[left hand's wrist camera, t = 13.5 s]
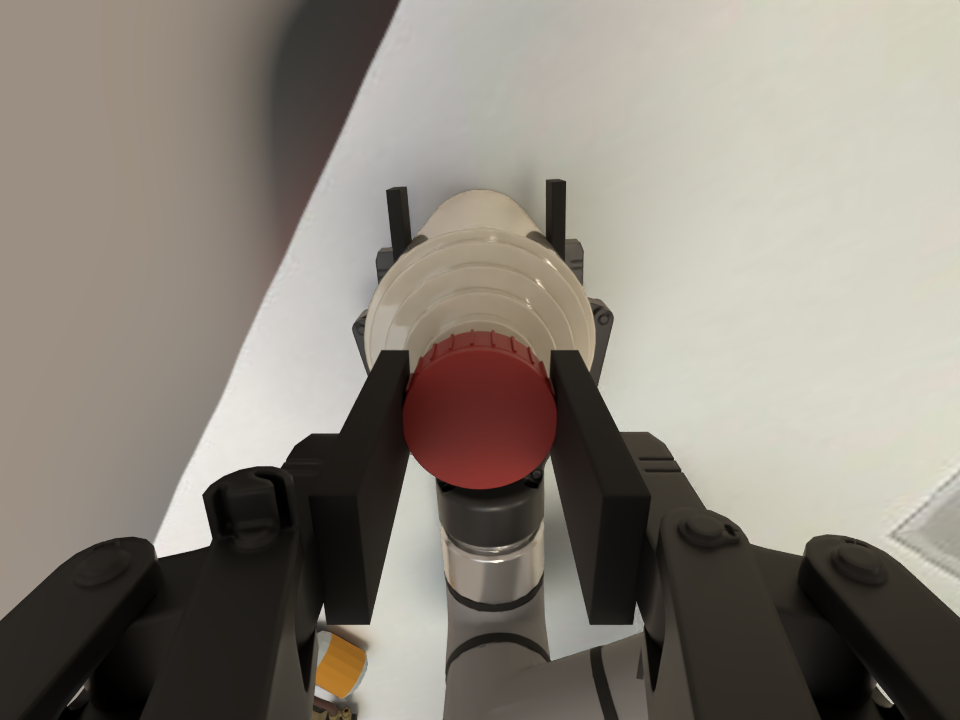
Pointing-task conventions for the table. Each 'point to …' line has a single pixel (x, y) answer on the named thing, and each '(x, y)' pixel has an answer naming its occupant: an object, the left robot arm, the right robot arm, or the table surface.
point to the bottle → (479, 285)
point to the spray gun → (337, 674)
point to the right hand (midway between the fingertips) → (475, 184)
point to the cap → (479, 410)
